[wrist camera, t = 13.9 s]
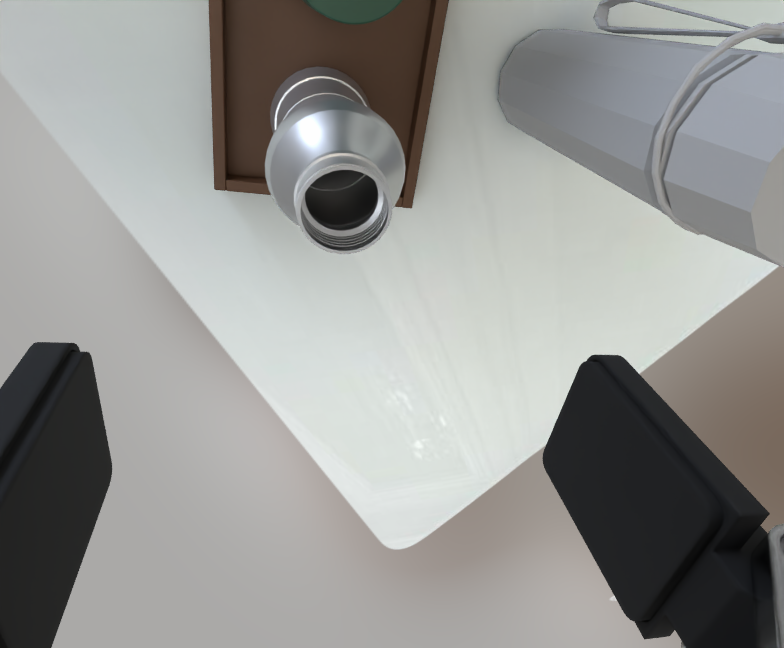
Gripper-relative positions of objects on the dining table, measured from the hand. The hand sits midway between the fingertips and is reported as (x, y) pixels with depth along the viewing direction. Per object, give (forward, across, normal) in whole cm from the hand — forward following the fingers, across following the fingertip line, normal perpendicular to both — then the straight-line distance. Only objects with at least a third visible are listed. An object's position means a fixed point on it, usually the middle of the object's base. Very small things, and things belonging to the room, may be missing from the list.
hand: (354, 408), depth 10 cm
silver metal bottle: (+31, -1, 0) cm, 31 cm away
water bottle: (+32, -17, -5) cm, 37 cm away
